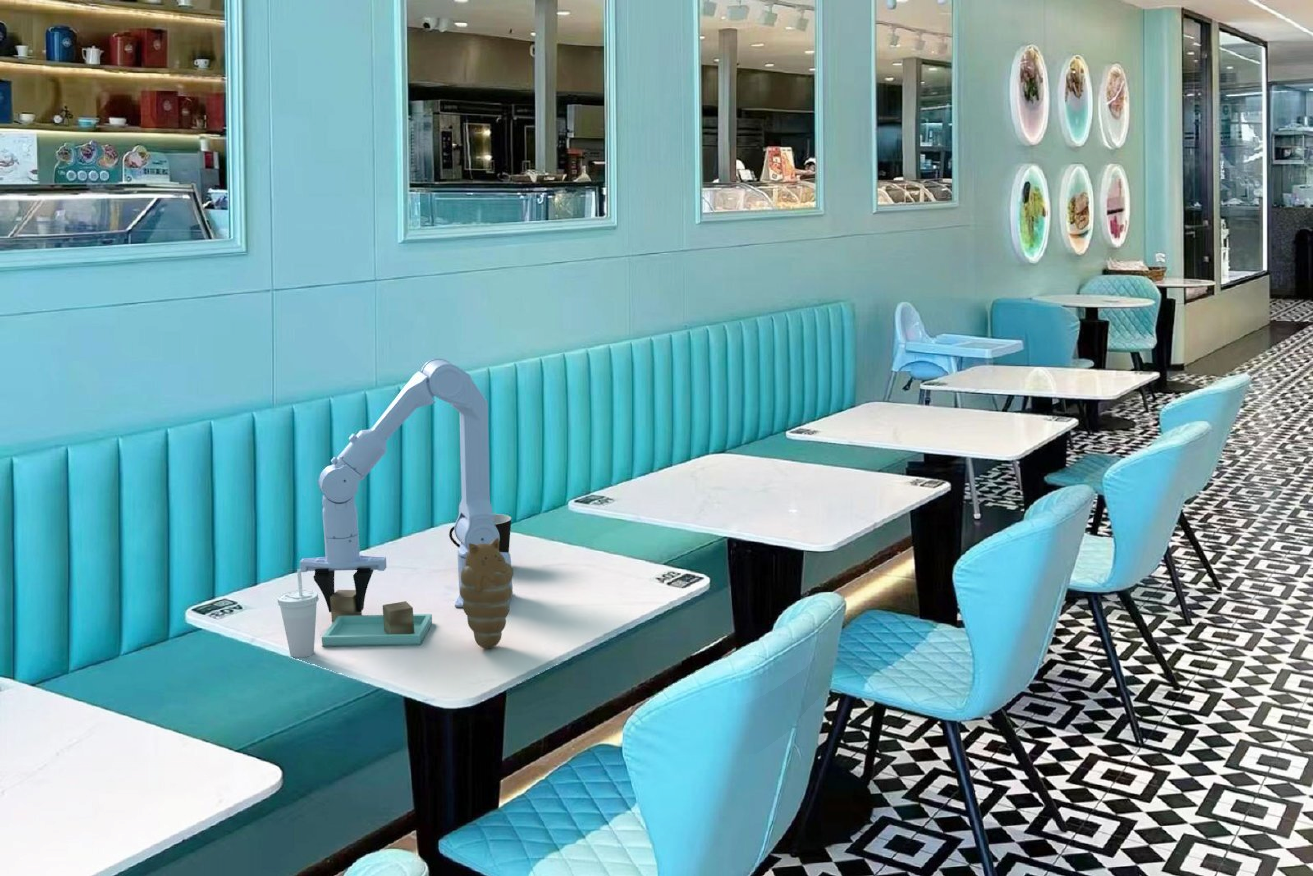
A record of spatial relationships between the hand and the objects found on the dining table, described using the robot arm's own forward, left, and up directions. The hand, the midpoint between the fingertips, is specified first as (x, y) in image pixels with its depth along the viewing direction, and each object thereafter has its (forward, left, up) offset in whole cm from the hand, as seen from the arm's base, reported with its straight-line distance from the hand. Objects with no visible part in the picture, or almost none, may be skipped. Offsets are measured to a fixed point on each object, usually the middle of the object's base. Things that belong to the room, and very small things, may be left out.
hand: (346, 610), depth 229 cm
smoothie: (+3, +17, -2) cm, 18 cm away
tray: (-8, +9, -1) cm, 12 cm away
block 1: (0, 0, -1) cm, 1 cm away
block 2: (-11, +9, -1) cm, 14 cm away
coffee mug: (-20, -30, -2) cm, 36 cm away
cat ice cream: (-27, +16, -2) cm, 32 cm away
